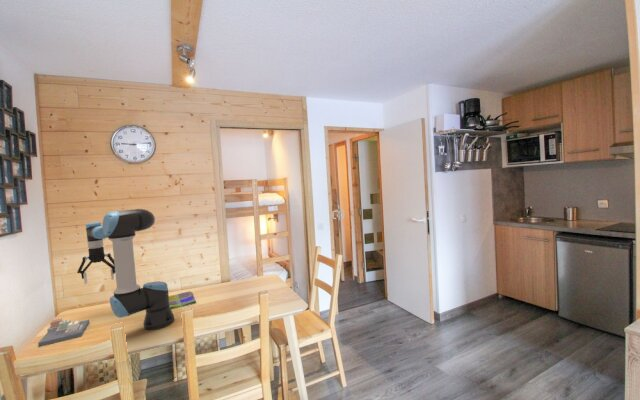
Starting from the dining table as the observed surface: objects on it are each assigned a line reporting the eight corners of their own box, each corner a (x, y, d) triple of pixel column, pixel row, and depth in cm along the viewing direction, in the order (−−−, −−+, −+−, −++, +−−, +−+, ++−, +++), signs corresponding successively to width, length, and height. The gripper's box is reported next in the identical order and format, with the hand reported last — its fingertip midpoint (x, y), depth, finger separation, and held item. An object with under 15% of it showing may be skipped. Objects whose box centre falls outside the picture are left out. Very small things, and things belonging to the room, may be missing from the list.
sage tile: (68, 327, 160) (68, 321, 160) (59, 329, 158) (58, 323, 158) (70, 324, 163) (70, 319, 163) (61, 326, 162) (60, 321, 161)
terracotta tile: (60, 325, 163) (59, 320, 163) (50, 328, 161) (50, 322, 161) (62, 323, 166) (61, 317, 166) (53, 325, 164) (52, 319, 164)
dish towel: (166, 311, 183) (165, 307, 183) (165, 300, 204) (165, 296, 204) (196, 304, 191) (196, 300, 191) (192, 294, 213) (192, 290, 213)
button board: (81, 336, 156) (80, 329, 156) (38, 346, 148) (37, 339, 148) (89, 322, 174) (88, 316, 174) (51, 331, 166) (50, 324, 166)
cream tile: (77, 328, 157) (77, 323, 157) (68, 331, 155) (67, 325, 155) (79, 326, 160) (79, 320, 160) (70, 328, 159) (69, 322, 158)
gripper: (121, 243, 191) (124, 275, 192) (72, 249, 180) (76, 283, 181) (119, 245, 184) (122, 278, 185) (68, 251, 173) (72, 287, 174)
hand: (99, 281), depth 183 cm, fingers open, 13 cm apart
